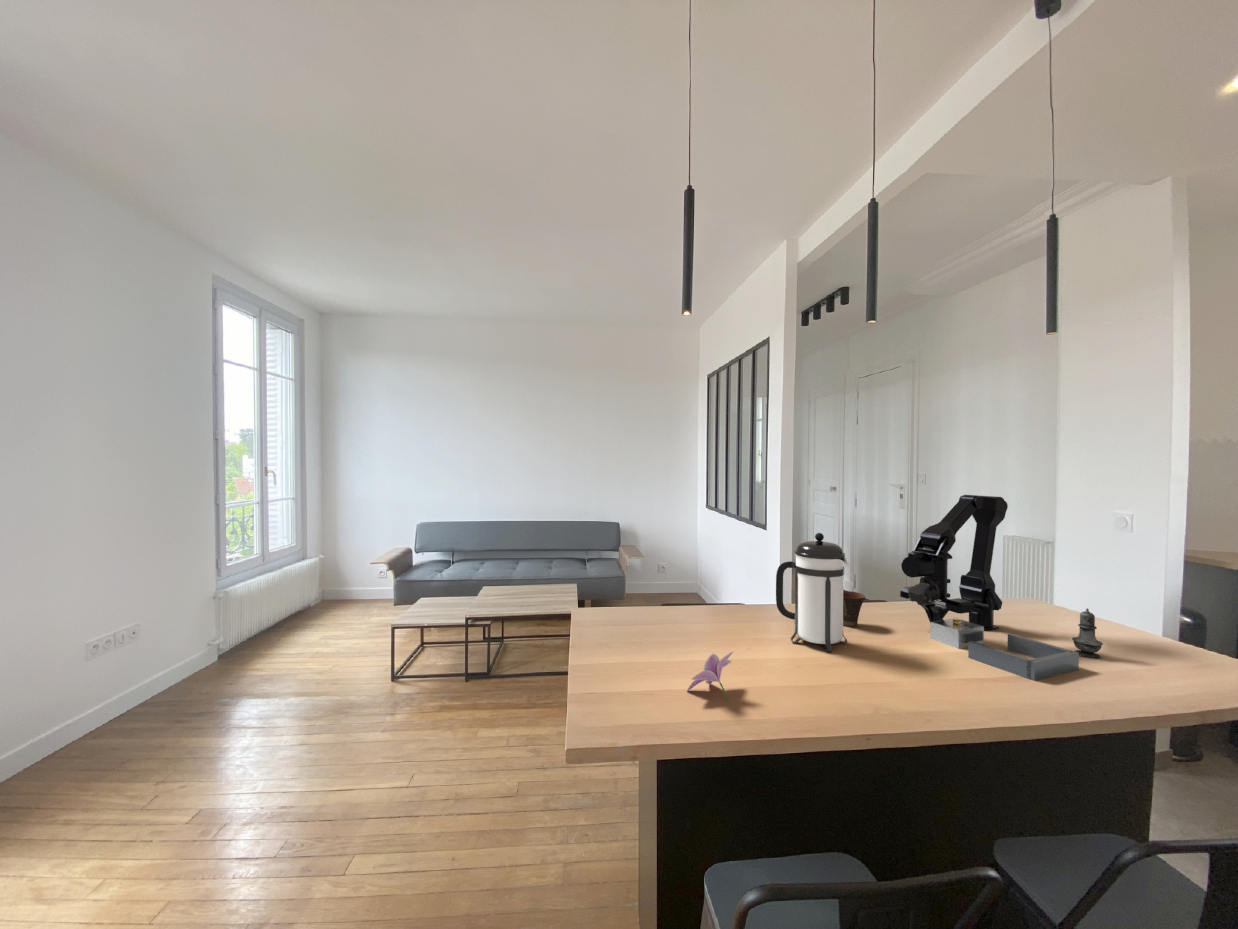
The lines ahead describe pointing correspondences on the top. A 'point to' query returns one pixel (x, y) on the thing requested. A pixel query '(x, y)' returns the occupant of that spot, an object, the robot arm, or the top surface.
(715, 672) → the lily
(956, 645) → the drawer
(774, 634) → the top surface
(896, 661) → the top surface
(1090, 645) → the salt shaker
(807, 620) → the coffee press
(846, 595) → the cup
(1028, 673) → the frame
